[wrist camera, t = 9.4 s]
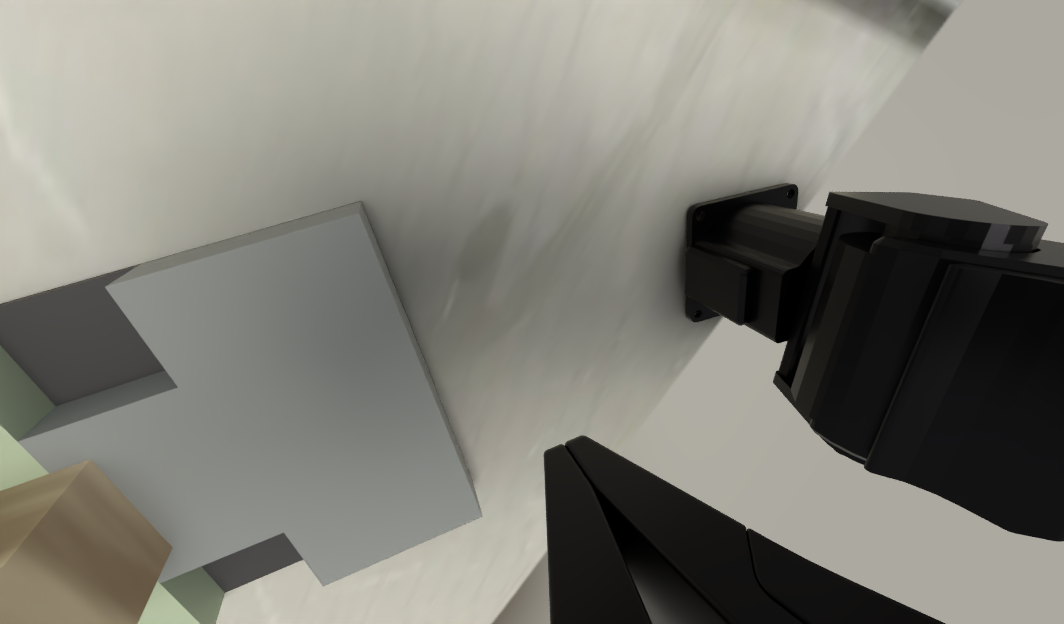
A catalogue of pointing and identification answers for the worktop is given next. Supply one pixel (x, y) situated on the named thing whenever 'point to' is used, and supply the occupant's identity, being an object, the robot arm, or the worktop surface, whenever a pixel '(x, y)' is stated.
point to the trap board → (240, 407)
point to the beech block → (75, 551)
